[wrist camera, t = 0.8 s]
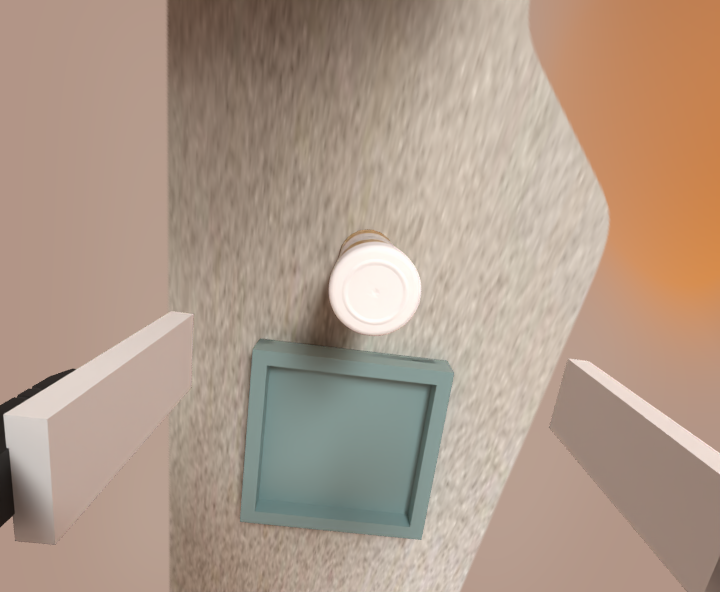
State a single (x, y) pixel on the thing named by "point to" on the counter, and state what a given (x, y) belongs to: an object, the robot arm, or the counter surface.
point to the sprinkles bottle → (373, 285)
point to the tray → (342, 438)
